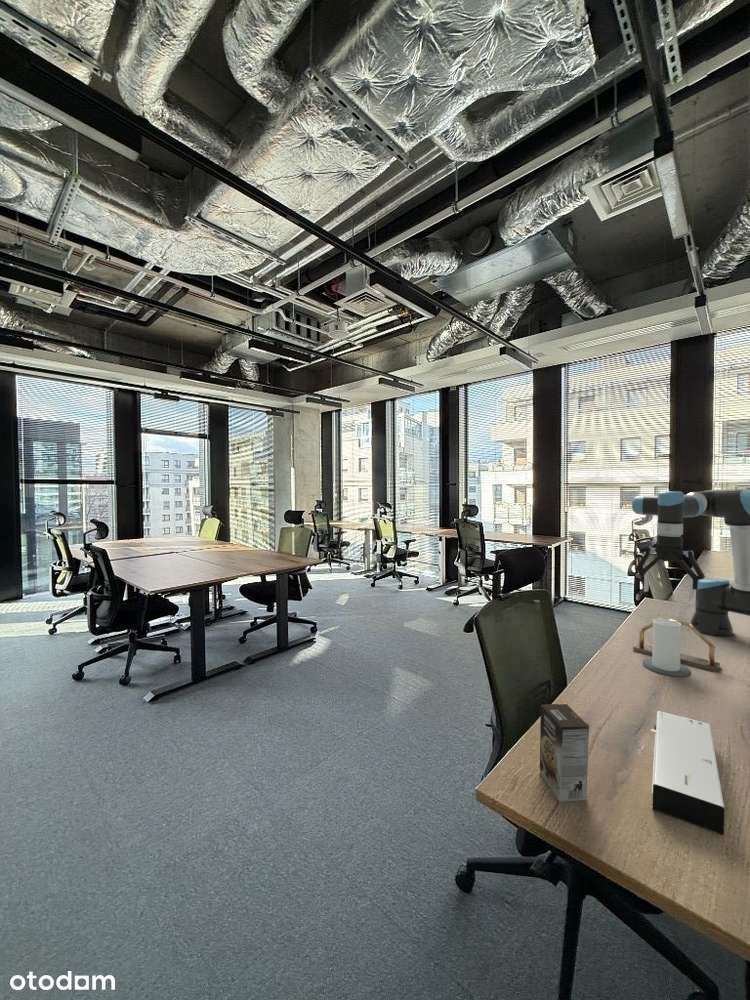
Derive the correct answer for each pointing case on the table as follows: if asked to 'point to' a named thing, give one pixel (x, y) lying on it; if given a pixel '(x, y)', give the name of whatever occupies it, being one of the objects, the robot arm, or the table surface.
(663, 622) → the cup
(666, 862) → the table surface
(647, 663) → the mat
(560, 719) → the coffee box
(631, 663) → the table surface
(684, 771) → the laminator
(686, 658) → the buzz wire
